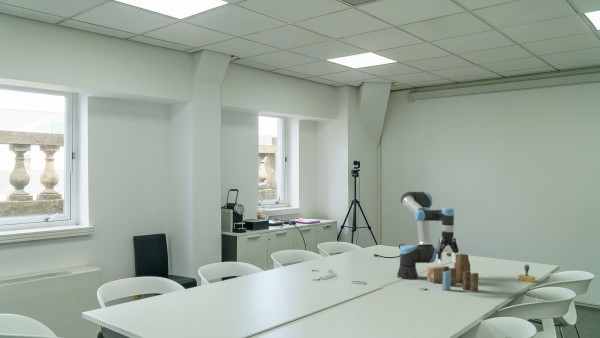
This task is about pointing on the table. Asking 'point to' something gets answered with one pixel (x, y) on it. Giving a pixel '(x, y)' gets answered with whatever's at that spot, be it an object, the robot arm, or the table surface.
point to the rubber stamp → (526, 275)
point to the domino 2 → (446, 280)
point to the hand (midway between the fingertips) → (447, 263)
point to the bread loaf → (461, 266)
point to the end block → (434, 274)
